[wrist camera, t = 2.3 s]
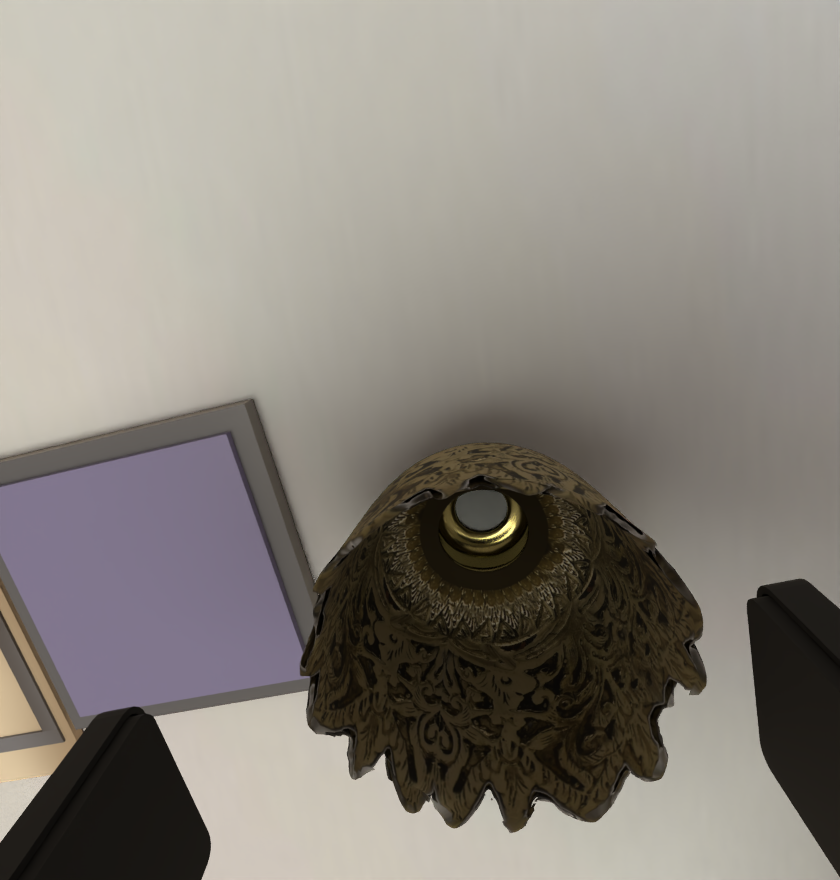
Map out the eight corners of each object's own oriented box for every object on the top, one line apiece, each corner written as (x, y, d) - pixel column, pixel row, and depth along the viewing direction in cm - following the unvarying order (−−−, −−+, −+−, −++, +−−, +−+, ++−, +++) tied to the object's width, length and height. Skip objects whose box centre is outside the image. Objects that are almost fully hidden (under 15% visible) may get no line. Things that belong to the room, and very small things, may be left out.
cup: (402, 359, 17) (355, 431, 9) (639, 433, 17) (786, 566, 9) (338, 573, 19) (257, 776, 11) (550, 637, 19) (610, 880, 12)
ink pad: (252, 398, 18) (240, 406, 17) (343, 670, 20) (337, 691, 19) (-33, 467, 19) (-59, 478, 18) (87, 715, 21) (70, 736, 20)
